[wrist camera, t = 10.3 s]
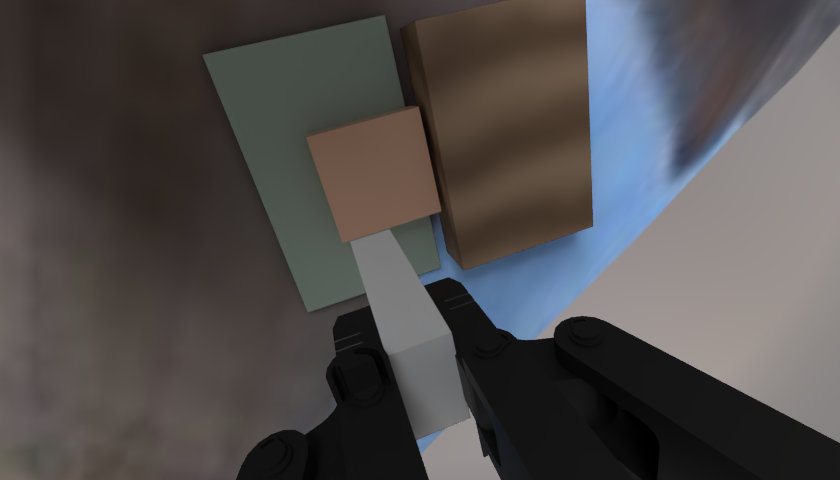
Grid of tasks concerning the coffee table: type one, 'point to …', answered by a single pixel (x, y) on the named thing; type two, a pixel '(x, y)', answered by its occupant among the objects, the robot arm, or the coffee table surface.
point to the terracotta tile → (376, 172)
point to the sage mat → (288, 148)
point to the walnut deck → (505, 123)
